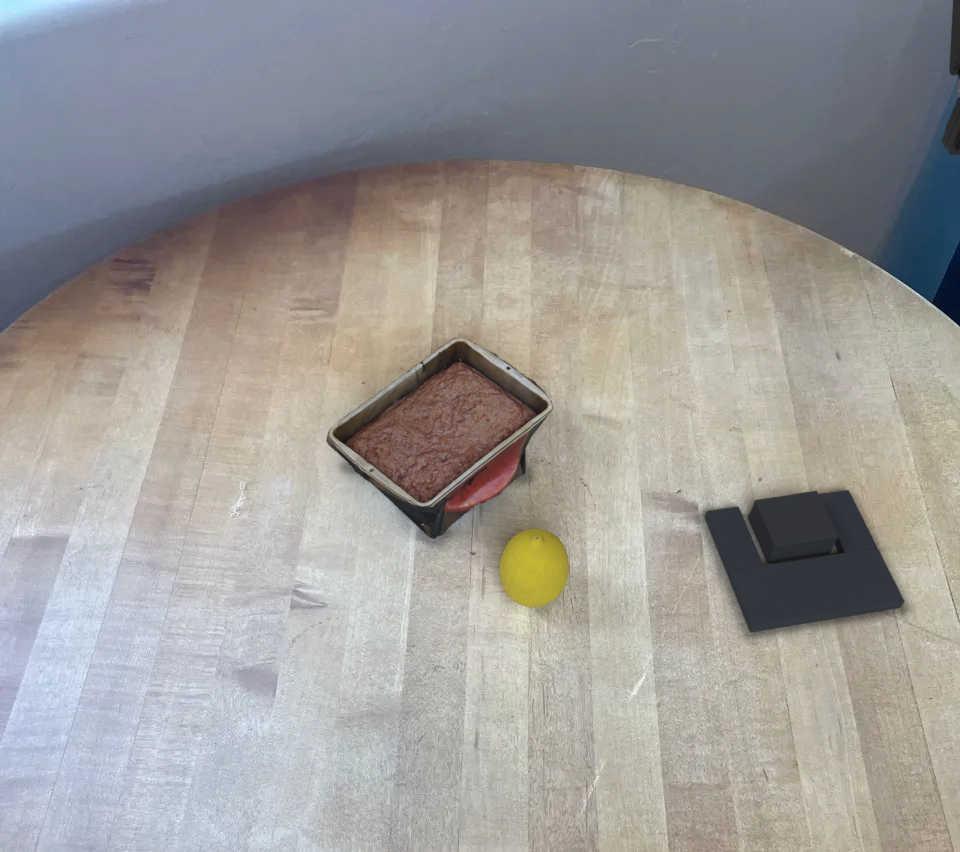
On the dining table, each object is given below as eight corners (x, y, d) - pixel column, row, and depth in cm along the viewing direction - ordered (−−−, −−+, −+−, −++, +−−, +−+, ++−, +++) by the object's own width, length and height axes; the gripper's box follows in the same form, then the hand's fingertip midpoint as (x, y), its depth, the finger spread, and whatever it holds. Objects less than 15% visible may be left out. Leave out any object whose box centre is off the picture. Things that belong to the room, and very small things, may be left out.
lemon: (574, 584, 83) (584, 524, 76) (549, 634, 80) (556, 577, 74) (514, 561, 84) (518, 500, 78) (487, 610, 82) (489, 552, 75)
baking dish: (558, 488, 91) (574, 397, 84) (409, 575, 82) (412, 482, 75) (453, 412, 97) (459, 321, 90) (305, 485, 89) (298, 391, 81)
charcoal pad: (843, 500, 88) (848, 489, 87) (898, 611, 82) (905, 601, 81) (703, 521, 87) (706, 510, 86) (748, 636, 81) (753, 626, 79)
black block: (806, 512, 87) (816, 490, 85) (827, 557, 85) (839, 536, 82) (746, 521, 87) (754, 499, 84) (765, 567, 84) (775, 546, 82)
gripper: (1184, -67, 59) (1041, 195, 74) (1074, -161, 66) (963, 96, 81) (1069, -57, 59) (948, 206, 73) (969, -153, 65) (877, 106, 80)
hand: (956, 148), depth 77 cm, fingers closed
